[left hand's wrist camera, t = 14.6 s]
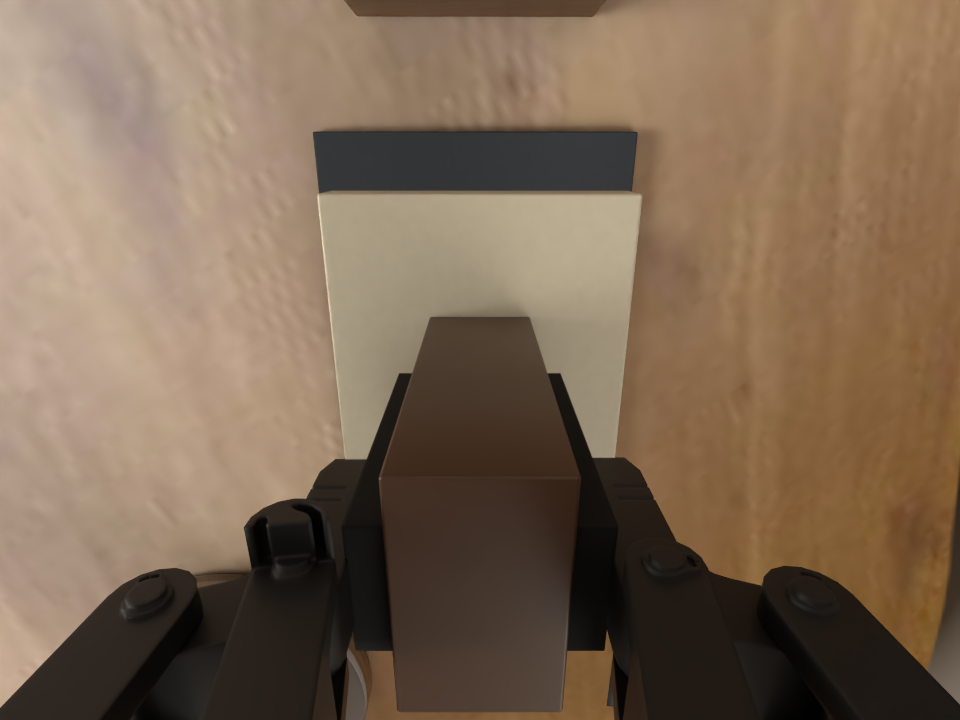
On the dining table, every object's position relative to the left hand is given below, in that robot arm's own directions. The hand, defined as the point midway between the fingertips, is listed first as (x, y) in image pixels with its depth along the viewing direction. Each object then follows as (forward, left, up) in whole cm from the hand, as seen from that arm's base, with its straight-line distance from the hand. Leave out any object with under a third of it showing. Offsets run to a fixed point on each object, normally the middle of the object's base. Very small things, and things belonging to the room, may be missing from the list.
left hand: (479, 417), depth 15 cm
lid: (0, 0, -3) cm, 3 cm away
